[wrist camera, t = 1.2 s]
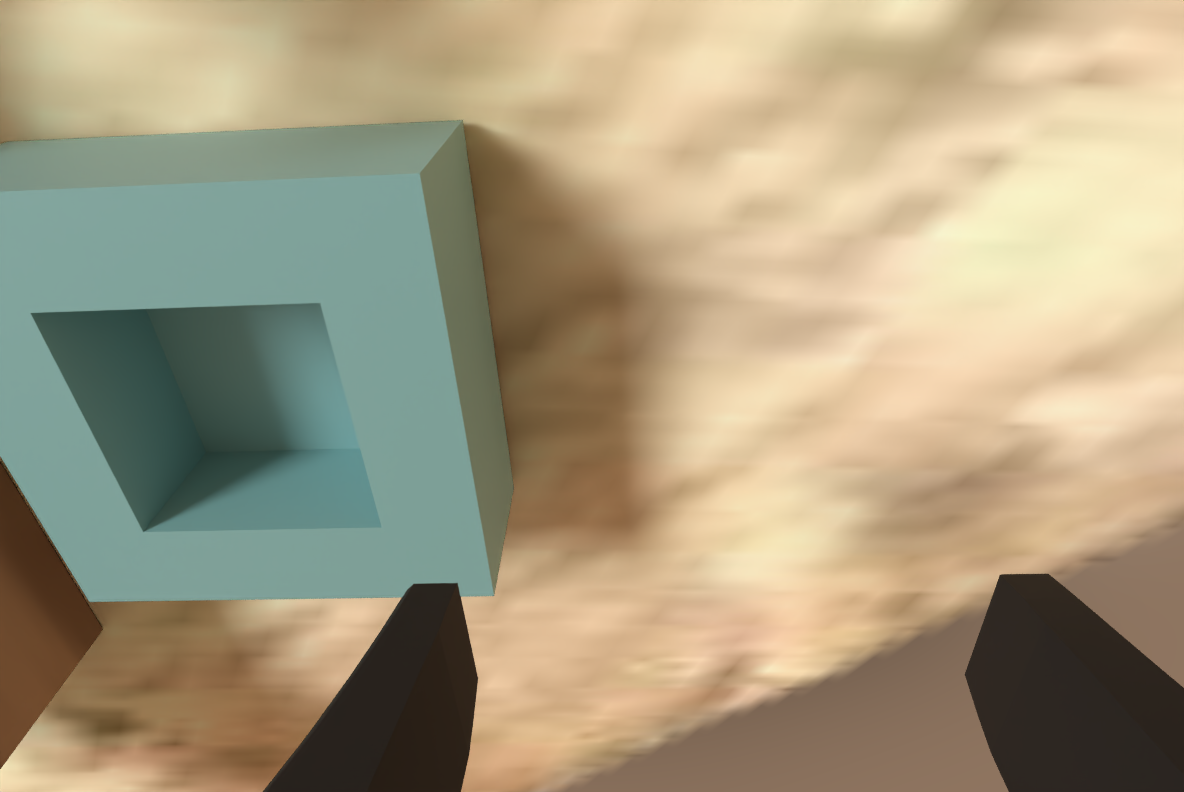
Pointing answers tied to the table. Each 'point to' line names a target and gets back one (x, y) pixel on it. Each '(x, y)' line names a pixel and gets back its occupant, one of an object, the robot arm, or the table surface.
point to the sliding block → (253, 362)
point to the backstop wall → (34, 620)
